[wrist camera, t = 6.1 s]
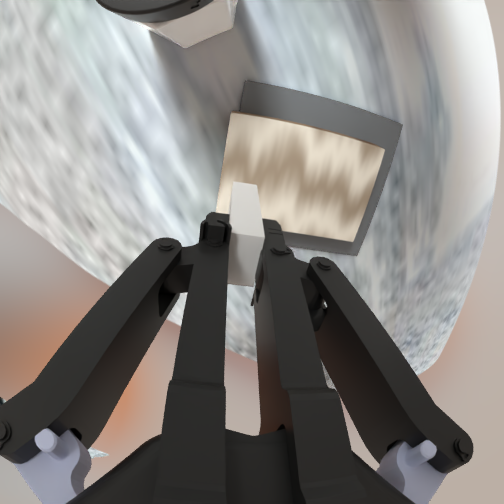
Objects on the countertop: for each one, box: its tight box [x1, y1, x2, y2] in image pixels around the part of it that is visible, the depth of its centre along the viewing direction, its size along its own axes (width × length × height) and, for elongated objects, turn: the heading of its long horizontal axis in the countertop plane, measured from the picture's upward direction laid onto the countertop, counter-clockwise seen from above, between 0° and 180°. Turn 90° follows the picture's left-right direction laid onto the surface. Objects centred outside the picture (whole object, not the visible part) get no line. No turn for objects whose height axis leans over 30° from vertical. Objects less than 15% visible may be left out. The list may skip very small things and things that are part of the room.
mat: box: [240, 81, 403, 256], centre depth 26 cm, size 16×16×1 cm
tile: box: [216, 111, 385, 242], centre depth 25 cm, size 10×2×14 cm
